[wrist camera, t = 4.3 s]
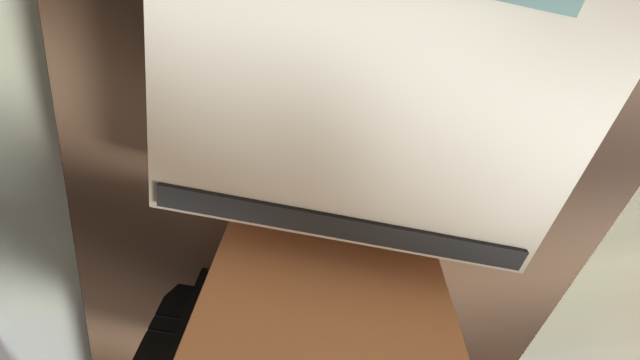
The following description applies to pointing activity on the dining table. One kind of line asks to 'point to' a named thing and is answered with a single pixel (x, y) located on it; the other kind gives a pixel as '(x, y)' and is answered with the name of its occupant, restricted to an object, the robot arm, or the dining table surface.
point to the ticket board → (345, 142)
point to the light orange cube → (319, 302)
